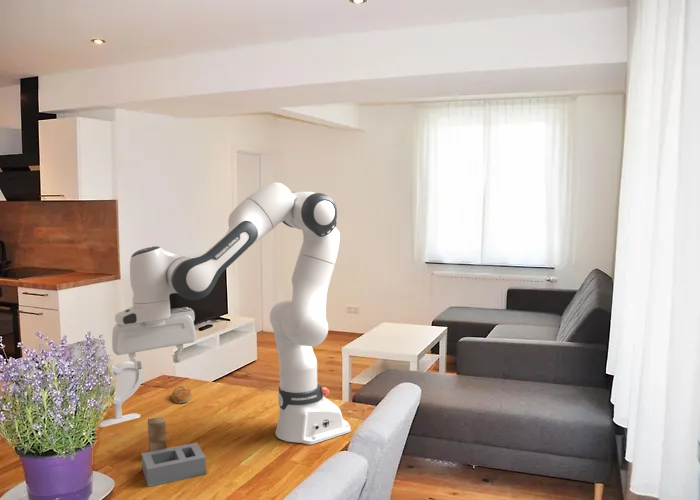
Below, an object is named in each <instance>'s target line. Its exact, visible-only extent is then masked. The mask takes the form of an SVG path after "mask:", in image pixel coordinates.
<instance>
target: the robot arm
mask: <svg viewBox="0 0 700 500" xmlns="http://www.w3.org/2000/svg"><path fill="white" fill-rule="evenodd" d="M337 218H338V209H337V205H336V203H335V201H334V200H333V198H331V197H330V196H328V195H326V193H321V192H314V191H291V190H290V188H289V187H287V186H286V185H285V184H283V183H281V182H278V181H277V182H275V181H274V182H271V183H269V184H266V185H265V186H263V187H261V188H259V189H258V190H256V191H254V192H253V193H251V194H250V195H248V196H247V197H246V198H245V199H244V200H242V201H241V202H240V203H239V204H238V205H237V206H236V207H235V208H234V209H233V210H232V211H231V213H230V214H229V216H228V221H227V222H228V230H227V232H226V233H225V235H224V236H223V237H222V238H220V240H218V241H217V242H216V243H215V244H214V245H212V247H210V248H209V249H208V250H207V251H206V252H205V253H203V254H201V255H199V256H196V257H188V256H182V255H179V254H176V253H173V252H170V251H168V250H166V249H165V248H162V247H161V246H157V245H156V246H149V247H145V248H141V249H139V250H137V251H134V253H132V254H131V257H130V258H129V259H130V261H129V279H130V287H131V289H132V292H133V293H132V295H133V297H132V306H130V307H128V308H127V309H124V310H121V311H120V312H118V313H116V314H115V315H114V321H115V323H116V324H115V325H114V327H113V328H112V333H111V347H112V352H113V353H114V354H115V355H117V356H122V355H127V354H128V357H129V358H130V360H131V362H134V366H135V370H139V369H142V370H143V366H142V362H141V361H140V360H138V361H137V360H136V359H135V357H136V353H140V352H146V351H150V350H151V351H152V350H156V349H163V348H167V347H174V346H175V347H176V348H177V350H176V352H175V354H172V355H171V356H172V362H173V363H175V364H176V363H180V362H181V354H182V352H183V350H184V344H190V343H195V341H196V339H197V332H196V328H195V327H196V326H195V320H196V319H195V318H196V315H195V311H194V310H193V308H190V307H188V306H183V307H176V308H175V307H174V308H171V301H170V295H171V294H177V295H179V296H180V297H182V298H183V299H185V300H189V301H198V300H201V299H203V298H205V297H207V296H209V294H210V293H211V292H212V291H213V290H214V288H215V285H216V284H217V282H218V280H219V278H220V276H221V275H222V274H223V273H224V272H225V270H227V268H229V267H230V266H231V265H232V264H233V263H234V262H235V261H237V259H238V258H239V257H241V256H242V255H243V254H244V253H245V252H246V251H247V250H248V249H249V248H251V247H252V246H253V245H254V244H255V243H256V242H258V241H260V240H261V239H262V238H264V237H265V236H266V235H267V234H269V233H270V232H271V231H272V230H274V229H275V228H276V227H277V226H278V225H279V224H281V223H283V224H284V225H285V226H286V227H290V228H294V229H298V230H300V231H302V235H303V238H302V239H303V241H302V244H301V247H300V250H299V254H298V256H297V260H296V262H295V263H296V264H295V267H294V269H293V272H292V276H291V285H292V298H291V299H292V300H282V301H279V302H277V303H276V304H274V306H273V307H272V308H271V310H270V312H269V322H270V324H271V327H272V330H273V334H274V335H273V336H274V341H275V344H276V352H277V354H278V355H277V356H278V361H279V386H278V394H277V395H278V396H277V397H278V399H277V400H278V406H279V412H278V414H279V415H278V419H277V424H276V425H277V426H276V429H275V433H274V434H275V436H276V438H277V439H280V440H282V441H284V442H288V443H301V444H304V445H314V444H317V443H321V442H324V441H326V440H327V441H328V440H330V439H333V438H336V437H339V436H342V435H346V434H349V433H350V432H351V430H352V429H351V425H350V423H349V422H348V421H347V420H345V419H344V418H343V414H342V411H341V409H340V407H339V406H338V405H336V404H335V403H334V402H333V401H331V400H330V399H328V398H327V397H325V396H329V394H330V390H329V389H328V388H327V387H326V386H323V385H320V384H319V383H318V359H317V357H316V354H315V353H314V349H313V347H316V346H317V347H318V346H319V345H321V344H322V343H323V342H324V341H325V340H326V338H327V336H328V333H329V323H328V321H327V300H328V299H327V298H328V290H329V286H330V283H331V279H332V276H333V273H334V269H335V265H336V262H337V258H338V254H339V250H340V241H341V240H340V239H341V233H340V230H338V228H337V227H336V226H337V220H338V219H337ZM141 366H142V367H141Z"/></svg>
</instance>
